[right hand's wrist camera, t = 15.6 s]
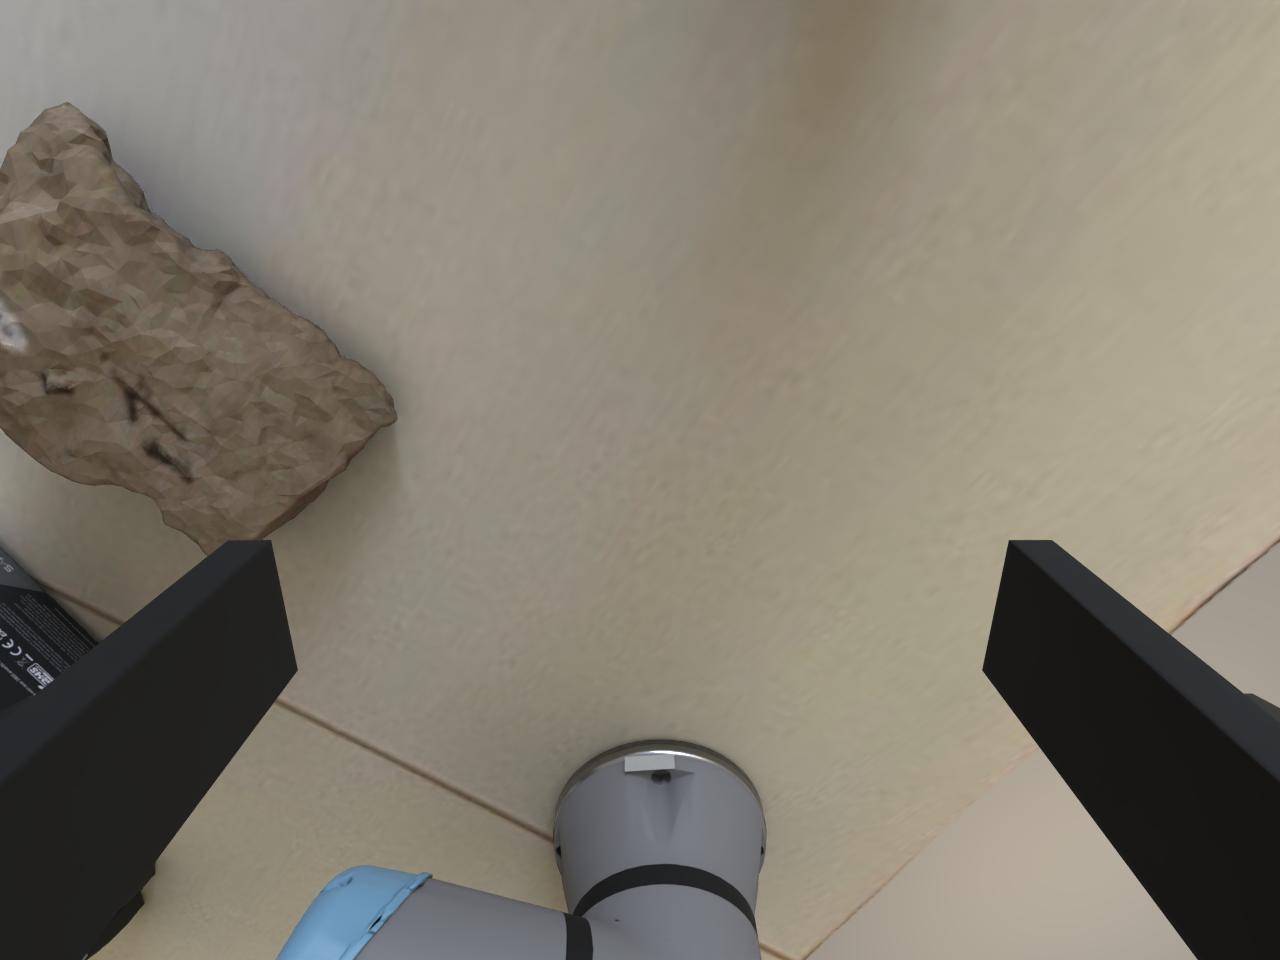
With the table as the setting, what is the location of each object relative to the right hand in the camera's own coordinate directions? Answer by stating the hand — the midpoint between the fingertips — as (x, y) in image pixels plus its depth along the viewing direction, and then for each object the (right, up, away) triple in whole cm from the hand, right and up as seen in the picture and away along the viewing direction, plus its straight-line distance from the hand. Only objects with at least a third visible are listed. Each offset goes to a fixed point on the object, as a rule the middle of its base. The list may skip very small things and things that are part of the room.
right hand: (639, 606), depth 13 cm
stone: (-25, +10, +27) cm, 38 cm away
